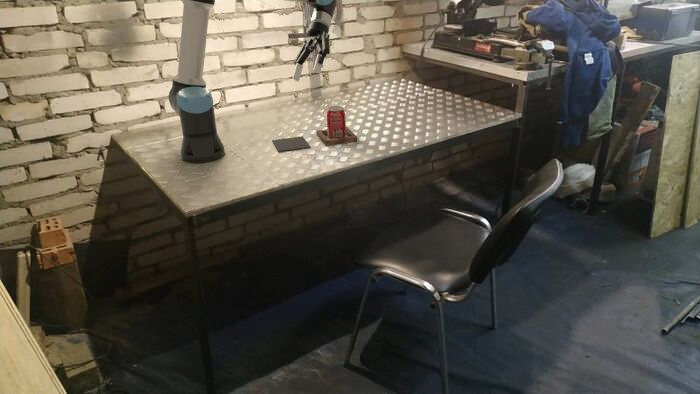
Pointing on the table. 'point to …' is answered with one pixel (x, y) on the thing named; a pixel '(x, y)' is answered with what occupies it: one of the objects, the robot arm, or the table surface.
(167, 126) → the table surface
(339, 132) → the soda can
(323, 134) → the holder
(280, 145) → the mat
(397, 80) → the table surface
